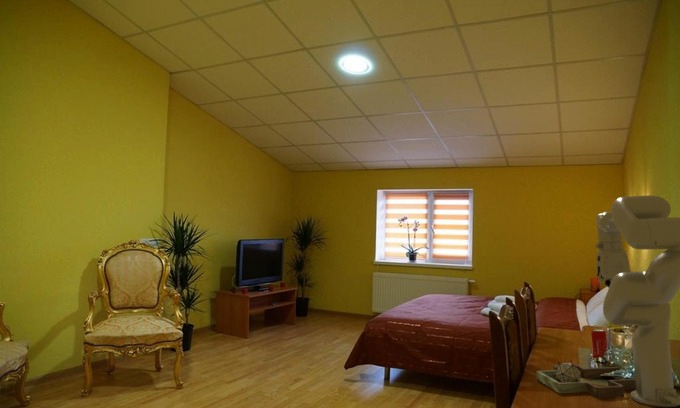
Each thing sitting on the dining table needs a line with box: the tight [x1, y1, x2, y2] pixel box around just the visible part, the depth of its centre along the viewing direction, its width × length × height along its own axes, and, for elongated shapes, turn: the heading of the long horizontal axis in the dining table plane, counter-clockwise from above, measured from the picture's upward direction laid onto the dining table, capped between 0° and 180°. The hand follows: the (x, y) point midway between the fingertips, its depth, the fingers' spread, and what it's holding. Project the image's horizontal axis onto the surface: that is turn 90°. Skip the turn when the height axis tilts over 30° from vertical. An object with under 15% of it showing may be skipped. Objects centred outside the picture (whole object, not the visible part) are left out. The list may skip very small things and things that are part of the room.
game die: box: [553, 359, 584, 383], centre depth 155 cm, size 9×8×10 cm
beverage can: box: [590, 328, 608, 359], centre depth 185 cm, size 5×5×12 cm
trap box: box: [535, 363, 636, 399], centre depth 156 cm, size 27×30×3 cm
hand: (614, 298), depth 166 cm, fingers closed
